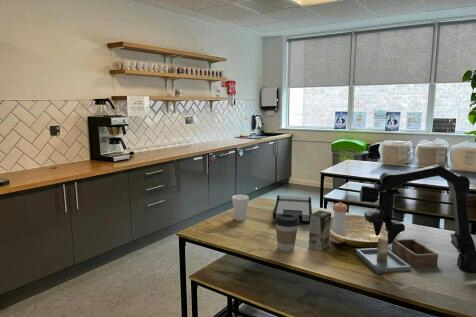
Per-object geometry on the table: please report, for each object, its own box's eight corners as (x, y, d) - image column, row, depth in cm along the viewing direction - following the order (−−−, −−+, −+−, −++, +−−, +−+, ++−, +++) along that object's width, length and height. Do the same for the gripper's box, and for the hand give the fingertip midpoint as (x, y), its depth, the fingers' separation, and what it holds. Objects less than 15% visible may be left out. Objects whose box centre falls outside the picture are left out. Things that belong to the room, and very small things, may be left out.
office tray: (272, 225, 188) (273, 210, 186) (277, 207, 219) (277, 195, 218) (311, 227, 184) (312, 213, 183) (310, 209, 215) (310, 197, 214)
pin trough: (436, 268, 140) (438, 254, 139) (414, 269, 138) (415, 255, 137) (411, 251, 155) (413, 238, 154) (391, 252, 154) (392, 239, 153)
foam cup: (229, 217, 198) (229, 195, 196) (243, 215, 202) (244, 194, 200) (236, 222, 190) (236, 200, 188) (251, 220, 194) (251, 198, 192)
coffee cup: (299, 244, 161) (300, 214, 159) (297, 255, 150) (298, 222, 148) (275, 242, 164) (276, 212, 162) (271, 251, 153) (272, 219, 151)
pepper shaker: (327, 240, 167) (329, 202, 164) (335, 236, 172) (337, 199, 169) (341, 244, 162) (343, 205, 159) (348, 240, 167) (351, 202, 164)
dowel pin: (389, 262, 142) (390, 242, 140) (380, 263, 141) (381, 242, 140) (383, 258, 146) (385, 238, 144) (374, 258, 145) (376, 238, 144)
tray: (410, 272, 136) (411, 266, 135) (377, 274, 134) (378, 268, 133) (385, 252, 153) (385, 247, 153) (355, 254, 151) (356, 249, 151)
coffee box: (321, 251, 154) (322, 217, 151) (308, 247, 158) (309, 214, 155) (329, 245, 161) (331, 212, 158) (317, 241, 165) (319, 209, 162)
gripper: (356, 197, 147) (354, 232, 150) (380, 211, 129) (377, 250, 132) (380, 197, 149) (377, 231, 152) (407, 210, 131) (403, 249, 133)
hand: (383, 239), depth 142 cm, fingers open, 9 cm apart
